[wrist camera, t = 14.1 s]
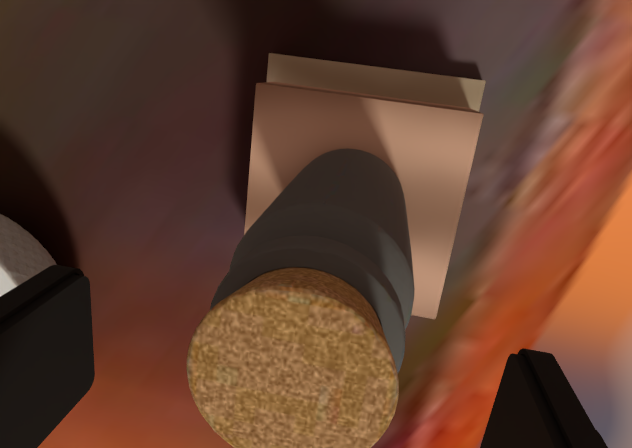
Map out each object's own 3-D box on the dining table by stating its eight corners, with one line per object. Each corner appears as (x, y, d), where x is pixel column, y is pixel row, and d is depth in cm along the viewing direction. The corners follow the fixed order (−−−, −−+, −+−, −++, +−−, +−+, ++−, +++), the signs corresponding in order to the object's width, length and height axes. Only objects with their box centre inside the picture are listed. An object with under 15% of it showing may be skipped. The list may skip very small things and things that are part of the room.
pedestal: (273, 53, 27) (248, 49, 23) (482, 80, 26) (502, 82, 21) (254, 270, 32) (230, 305, 27) (431, 302, 31) (439, 344, 26)
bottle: (322, 126, 23) (215, 210, 9) (426, 180, 23) (482, 346, 9) (274, 225, 25) (127, 419, 11) (371, 274, 25) (347, 530, 11)
